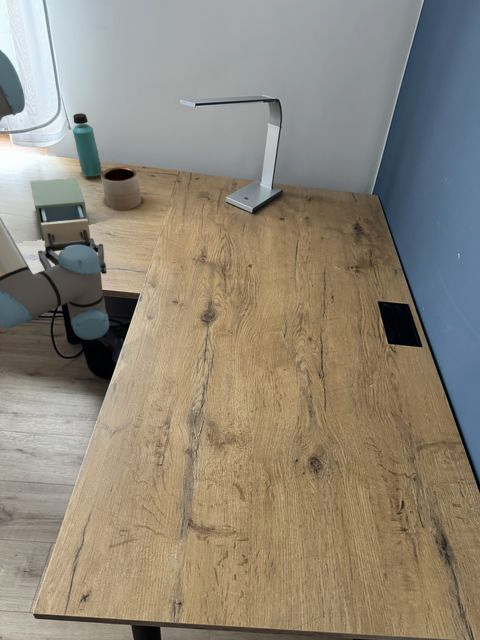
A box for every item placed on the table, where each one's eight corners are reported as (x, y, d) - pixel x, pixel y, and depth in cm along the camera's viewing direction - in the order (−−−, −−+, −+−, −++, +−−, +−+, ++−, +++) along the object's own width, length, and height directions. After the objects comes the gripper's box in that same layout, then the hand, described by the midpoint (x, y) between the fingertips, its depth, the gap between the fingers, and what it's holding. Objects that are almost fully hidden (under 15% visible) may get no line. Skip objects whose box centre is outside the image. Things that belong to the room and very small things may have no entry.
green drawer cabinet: (89, 236, 143) (84, 201, 136) (42, 241, 139) (34, 205, 132) (81, 211, 153) (76, 178, 146) (37, 215, 148) (29, 181, 141)
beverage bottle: (105, 178, 169) (93, 115, 156) (86, 182, 166) (72, 119, 153) (98, 171, 173) (86, 109, 160) (79, 175, 170) (65, 113, 157)
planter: (124, 192, 164) (120, 163, 158) (148, 202, 160) (145, 173, 153) (99, 204, 157) (92, 175, 151) (123, 215, 153) (118, 185, 146)
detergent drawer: (96, 262, 133) (92, 233, 127) (50, 268, 129) (44, 238, 123) (84, 225, 146) (80, 196, 140) (42, 229, 142) (36, 200, 136)
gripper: (35, 307, 115) (27, 253, 129) (127, 293, 122) (110, 244, 137) (28, 280, 110) (20, 227, 124) (125, 267, 117) (107, 219, 132)
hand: (67, 236), depth 130 cm, fingers closed on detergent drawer, 8 cm apart
